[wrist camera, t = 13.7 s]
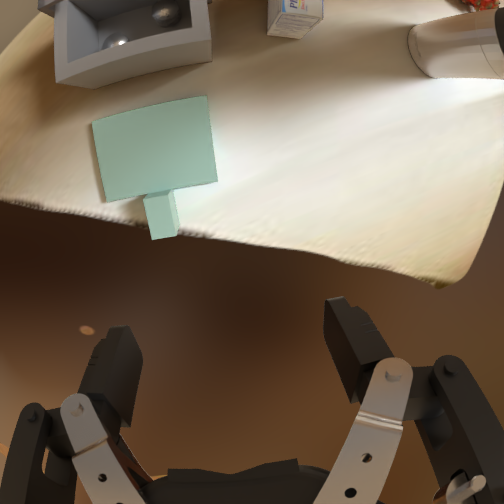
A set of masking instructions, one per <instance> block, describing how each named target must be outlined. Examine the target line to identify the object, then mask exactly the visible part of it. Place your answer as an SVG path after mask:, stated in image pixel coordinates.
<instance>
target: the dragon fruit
mask: <svg viewBox="0 0 504 504" xmlns="http://www.w3.org/2000/svg"><path fill="white" fill-rule="evenodd" d="M462 1H463V2H464V3H465V4H467V5H473V6H474V9H475V10H476V11H479V9H480V11H482V10H487V9H495V8H499V4H500V2H499V0H462Z"/></svg>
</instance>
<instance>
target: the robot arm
mask: <svg viewBox="0 0 504 504" xmlns="http://www.w3.org/2000/svg"><path fill="white" fill-rule="evenodd" d="M408 46H409V50H410V53H411V55H412V58H413V59H414V61H415V63H416V64H417V66H418V67H419V68H420V69H421V70H422V71H423V72H424V73H425V74H427V75H428V76H430V77H433V78H486V79H503V80H504V7H503V8H495V9H487V10H482V11H476V12H470V13H465V14H460V15H455V16H451V17H446V18H442V19H438V20H434V21H430V22H426V23H423V24H419V25H416V26H414V27H413V28H412V29H411V30H410V32H409V35H408ZM324 304H325V305H324V321H323V322H324V323H323V334H324V339H325V342H326V345H327V347H328V349H329V352H330V354H331V356H332V359H333V361H334V364H335V366H336V369H337V371H338V373H339V376H340V378H341V381H342V383H343V386H344V388H345V391H346V393H347V396H348V398H349V401H350V403H355V402H358V401H359V402H360V404H361V408H360V410H359V413H358V414H357V416H356V419H355V421H354V423H353V426H352V428H351V430H350V433H349V435H348V437H347V440H346V442H345V444H344V446H343V448H342V450H341V453H340V454H339V456H338V458H337V461H336V462H335V465H334V467H333V468H332V470H331V472H330V471H328V470H325V469H322V468H319V467H314V466H308V465H298V461H297V458H296V459H291V460H285V461H279V462H272V463H265V464H262V465H259V466H256V467H254V468H251V469H248V470H245V471H242V472H239V473H235V474H224V473H218V472H212V471H206V470H201V469H168V476H165V477H161V478H158V479H156V480H154V481H153V479H152V478H151V477H150V476H149V475H148V474H147V473H146V472H145V471H144V470H143V468H142V467H141V466H140V464H139V463H138V461H137V460H136V458H135V457H134V455H133V454H132V452H131V450H130V449H129V447H128V446H127V444H126V442H125V441H124V439H123V438H122V436H121V435H120V434H119V433H120V427H131V421H132V416H133V410H134V405H135V399H136V394H137V389H138V385H139V380H140V375H141V370H142V366H143V356H142V352H141V350H140V348H139V345H138V344H137V342H136V339H135V337H134V335H133V333H132V331H131V329H130V327H129V326H128V325H124V326H111V327H110V329H109V331H108V333H107V336H106V338H105V339H101V341H100V342H99V343H98V344H97V345H96V347H95V348H94V350H93V353H92V355H91V359H90V360H89V363H88V366H87V368H86V371H85V374H84V376H83V379H82V381H81V384H80V388H79V390H78V393H77V394H73V395H71V396H69V397H68V398H66V399H65V401H64V402H63V403H62V405H61V407H60V408H55V409H51V410H45V409H44V408H43V407H42V406H41V405H40V404H39V403H30V404H28V405H26V406H25V407H24V408H23V410H22V411H21V413H20V416H19V419H18V422H17V425H16V428H15V431H14V434H13V438H12V441H11V445H10V448H9V452H8V456H7V460H6V464H5V468H4V472H3V477H2V483H1V487H0V504H74V500H75V490H76V481H77V474H78V475H79V477H80V479H81V482H82V484H83V485H84V488H85V490H86V492H87V493H88V495H89V497H90V499H91V501H92V503H93V504H385V503H383V502H381V501H379V500H378V497H379V495H380V493H381V490H382V488H383V485H384V483H385V481H386V478H387V475H388V473H389V470H390V467H391V465H392V462H393V459H394V456H395V453H396V449H397V447H398V444H399V441H400V437H401V434H402V430H403V425H402V421H406V420H414V422H415V424H416V426H417V429H418V431H419V434H420V436H421V439H422V441H423V443H424V446H425V449H426V451H427V454H428V456H429V459H430V462H431V464H432V467H433V470H434V472H435V475H436V478H437V481H438V484H439V486H440V489H439V490H438V491H437V492H436V494H435V496H434V498H433V501H432V504H504V430H503V428H502V426H501V424H500V422H499V420H498V419H497V417H496V415H495V413H494V411H493V409H492V408H491V406H490V404H489V402H488V401H487V399H486V397H485V396H484V394H483V392H482V390H481V389H480V387H479V386H478V384H477V382H476V381H475V379H474V377H473V376H472V374H471V373H470V371H469V369H468V368H467V366H466V365H465V363H464V362H463V361H462V360H461V359H459V358H458V357H456V356H452V355H445V356H441V357H440V358H438V360H436V362H435V363H434V365H433V366H427V367H410V365H409V364H408V363H407V362H405V361H404V360H402V359H399V358H395V357H394V355H393V354H392V352H391V350H390V349H389V347H388V345H387V344H386V342H385V340H384V339H383V337H382V336H381V334H380V332H379V331H378V330H377V328H376V326H375V324H374V323H373V321H372V320H371V318H370V317H369V315H368V314H367V312H365V311H364V310H362V309H361V308H359V307H358V306H356V307H350V305H349V304H348V302H347V300H346V299H345V297H343V296H342V297H337V298H332V299H326V300H325V303H324ZM45 448H47V449H48V450H49V453H48V458H47V463H46V468H45V474H44V473H43V471H42V461H43V456H44V452H45Z"/></svg>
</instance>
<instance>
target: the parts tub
mask: <svg viewBox="0 0 504 504" xmlns="http://www.w3.org/2000/svg"><path fill="white" fill-rule="evenodd" d="M158 1H160V0H38V10H39V11H41V12H43V13H45V14H47V15H49V16H51V17H53V18H54V62H55V79H56V83H60V84H66V85H72V86H78V87H84V88H89V89H97V88H100V87H103V86H106V85H109V84H112V83H115V82H119V81H122V80H125V79H129V78H133V77H136V76H140V75H144V74H148V73H152V72H157V71H161V70H166V69H170V68H175V67H181V66H186V65H192V64H198V63H204V62H211V61H212V45H211V32H210V23H209V14H208V5H207V3H212V0H174V1H176V2H177V4H178V7H179V10H180V13H181V19H180V21H179V22H178V23H177V24H176V25H174V26H172V27H169V28H164V27H161V26H159V25H158V24H157V22H156V21H155V19H154V17H153V16H152V12H151V11H152V8H153V6H154V5H155V4H156V3H157V2H158ZM114 33H122V34H123V35H125V36H126V37H127V38H128V39H129V40H130V42H127V43H123V44H120V45H117V46H114V47H110V48H107V49H105V50H102V45H103V43H104V41H105V39H106V38H107V37H108V36H110V35H112V34H114Z"/></svg>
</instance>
